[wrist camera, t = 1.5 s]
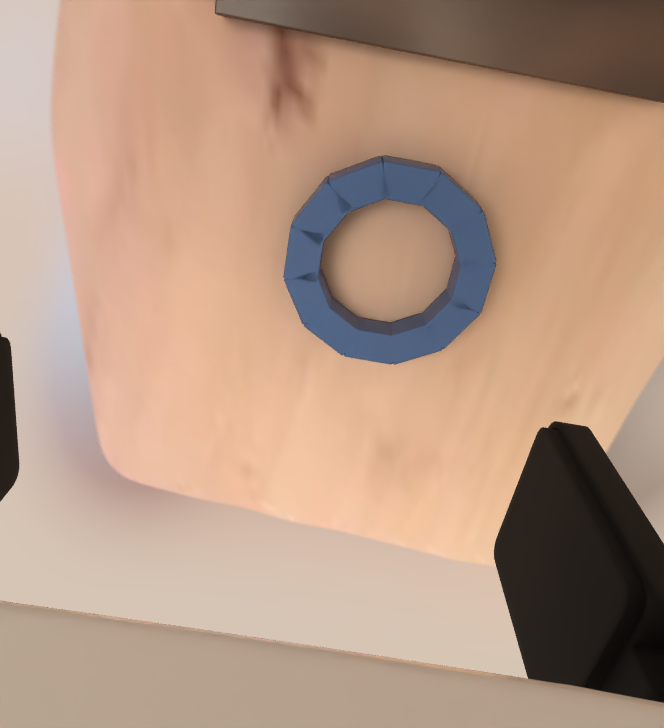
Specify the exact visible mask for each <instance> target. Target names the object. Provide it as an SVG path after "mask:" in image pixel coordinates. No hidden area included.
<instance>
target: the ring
mask: <svg viewBox="0 0 664 728" xmlns="http://www.w3.org/2000/svg"><path fill="white" fill-rule="evenodd" d="M384 199H388V200H393V201H398V202H404V203H409V204H415V205H420V206H423V207H425V208H426V209H427V210H428V211H429V212H430V213H431V214H432V215H434V216H435V217H436V218H437V219H438V220H439V221H440V222H441V223H442V224H444V225H445V226H446V227H447V228H448V230H449V233H450V237H451V240H452V244H453V247H454V251H455V255H456V257H455V260H454V264H453V268H452V271H451V275H450V278H449V282H448V286H447V289H446V290H445V291H444V292H443V293H442V294H441V295H440V296H439V297H438V298H437V299H436V300H435V301H434V302H433V303H432V304H431V305H430V306H429V307H428V308H427V309H426V310H425V311H424V312H423V313H420V314H417V315H414V316H411V317H408V318H404V319H401V320H398V321H395V322H392V323H387V322H381V321H375V320H370V319H364V318H358V317H357V316H355V315H354V314H353V313H352V312H350V311H349V310H348V309H346V308H345V307H344V306H343V305H341V304H340V303H339V302H338V301H336V300H335V299H334V298H333V297H332V296H331V294H330V291H329V289H328V286H327V283H326V281H325V278H324V276H323V273H322V271H321V268H320V262H321V256H322V250H323V244H324V240H325V239H326V238H327V237H328V236H329V235H330V233H331V232H332V231H333V230H334V229H335V228H336V226H337V225H338V224H339V223H340V222H341V220H342V219H343V218H344V217H345V216H346V215H347V213H348V212H350V211H353V210H356V209H359V208H361V207H364V206H367V205H370V204H373V203H375V202H378V201H381V200H384ZM495 262H496V258H495V254H494V250H493V246H492V242H491V238H490V234H489V230H488V226H487V222H486V218H485V214H484V212H483V210H482V208H481V207H480V206H479V204H478V203H477V202H476V201H475V200H474V199H473V198H472V197H471V196H470V195H469V194H468V193H467V192H466V191H465V190H464V189H463V188H462V187H460V186H459V185H458V184H457V183H456V182H455V181H454V180H453V179H452V178H451V177H450V176H449V175H448V174H446V173H445V172H444V171H443V170H442V169H441V168H440V167H437V166H436V165H433V164H427V163H422V162H417V161H412V160H406V159H401V158H396V157H390V156H383V157H381V156H378V157H375V158H372V159H370V160H367V161H364V162H362V163H359V164H356V165H354V166H351V167H348V168H346V169H343V170H340V171H337V172H335V173H332V174H330V177H329V176H327V177H326V178H325V180H324V181H323V182H322V183H321V185H320V186H319V187H318V188H317V189H316V191H315V192H314V193H313V194H312V196H311V197H310V198H309V199H308V201H307V202H306V203H305V204H304V205H303V207H302V208H301V209H300V210H299V212H298V213H297V214H296V215H295V218H294V220H293V222H292V225H291V228H290V235H289V242H288V249H287V256H286V263H285V270H284V278H285V279H284V281H285V284H286V286H287V288H288V291H289V293H290V295H291V298H292V300H293V303H294V305H295V307H296V310H297V312H298V314H299V317H300V319H301V321H302V323H303V324H305V325H304V326H305V327H306V328H307V329H308V330H310V331H311V332H312V333H313V334H315V335H316V336H317V337H319V338H320V339H321V340H323V341H324V342H325V343H326V344H328V345H329V346H330V347H332V348H333V349H334V350H336V351H337V352H338V353H340V354H341V355H344V356H345V357H351V358H357V359H363V360H368V361H374V362H380V363H386V364H393V363H394V364H398V363H401V362H405V361H408V360H411V359H415V358H418V357H421V356H425V355H428V354H431V353H435V352H438V351H441V350H442V349H444V348H445V347H446V346H447V345H448V344H450V343H451V342H452V341H453V340H454V339H455V338H456V337H457V336H458V335H459V334H460V333H461V332H462V331H463V330H464V329H465V328H466V327H467V326H468V325H469V324H470V323H472V322H473V321H474V320H475V319H476V318H477V317H478V316H479V315H480V314H479V313H481V312H482V308H483V305H484V302H485V299H486V296H487V293H488V289H489V286H490V283H491V280H492V277H493V273H494V270H495V267H496V263H495Z"/></svg>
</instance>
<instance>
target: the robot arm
mask: <svg viewBox="0 0 664 728" xmlns="http://www.w3.org/2000/svg"><path fill="white" fill-rule="evenodd" d="M18 472H19V454H18V440H17V426H16V412H15V399H14V384H13V371H12V356H11V346H10V342H9V340H8V339H7V338H5V337H1V334H0V501H1V500H2V499H3V497H4V496H5V495H6V494H7V493H8V491H9V490H10V489H11V488H12V486H13V485H14V483H15V481H16V479H17V476H18ZM494 559H495V563H496V567H497V570H498V574H499V577H500V581H501V584H502V588H503V592H504V595H505V598H506V602H507V606H508V609H509V613H510V616H511V620H512V623H513V627H514V630H515V634H516V638H517V641H518V645H519V648H520V651H521V655H522V659H523V662H524V666H525V669H526V673H527V676H528V679H526V678H519V677H513V676H507V675H501V674H495V673H488V672H481V671H475V670H468V669H462V668H455V667H448V666H442V665H436V664H429V663H422V662H416V661H409V660H402V659H396V658H389V657H383V656H376V655H370V654H363V653H357V652H350V651H344V650H337V649H330V648H324V647H317V646H310V645H304V644H297V643H290V642H283V641H276V640H269V639H263V638H256V637H249V636H243V635H236V634H229V633H222V632H215V631H209V630H201V629H195V628H188V627H181V626H174V625H167V624H159V623H153V622H147V621H140V620H133V619H126V618H119V617H112V616H105V615H98V614H91V613H83V612H77V611H69V610H63V609H55V608H48V607H41V606H34V605H27V604H19V603H13V602H6V601H0V728H664V544H663V542H662V541H661V539H660V538H659V536H658V534H657V533H656V531H655V530H654V528H653V527H652V525H651V523H650V522H649V520H648V519H647V517H646V516H645V514H644V513H643V511H642V510H641V508H640V506H639V505H638V503H637V502H636V500H635V498H634V497H633V495H632V494H631V492H630V491H629V489H628V488H627V486H626V485H625V483H624V481H623V480H622V478H621V477H620V475H619V474H618V472H617V470H616V469H615V467H614V466H613V464H612V463H611V461H610V460H609V458H608V456H607V455H606V453H605V452H604V450H603V449H602V447H601V446H600V444H599V442H598V441H597V439H596V438H595V436H594V435H593V433H592V431H591V430H590V429H589V428H588V427H586V426H580V425H574V424H568V423H562V422H556V421H555V422H553V423H552V424H551V425H550V426H549V427H548V428H544V427H543V428H541V429H540V430H539V431H538V433H537V435H536V438H535V440H534V443H533V446H532V448H531V451H530V453H529V456H528V458H527V461H526V464H525V466H524V469H523V471H522V474H521V477H520V479H519V482H518V484H517V487H516V489H515V492H514V495H513V497H512V500H511V502H510V505H509V508H508V510H507V513H506V515H505V518H504V520H503V523H502V526H501V528H500V531H499V533H498V536H497V539H496V542H495V547H494Z"/></svg>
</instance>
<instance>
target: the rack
mask: <svg viewBox="0 0 664 728" xmlns="http://www.w3.org/2000/svg"><path fill="white" fill-rule="evenodd" d="M215 14H216V15H220V16H225V17H230V18H235V19H240V20H245V21H250V22H255V23H260V24H265V25H271V26H276V27H281V28H286V29H291V30H296V31H301V32H306V33H311V34H316V35H321V36H326V37H332V38H337V39H342V40H347V41H352V42H357V43H362V44H367V45H372V46H377V47H382V48H387V49H393V50H398V51H403V52H408V53H413V54H418V55H423V56H428V57H433V58H438V59H443V60H448V61H454V62H459V63H464V64H469V65H474V66H479V67H484V68H489V69H494V70H499V71H504V72H509V73H514V74H520V75H525V76H530V77H535V78H540V79H545V80H550V81H555V82H560V83H565V84H570V85H575V86H581V87H586V88H591V89H596V90H601V91H606V92H611V93H616V94H621V95H626V96H631V97H636V98H642V99H647V100H652V101H657V102H662V103H664V0H216V2H215Z"/></svg>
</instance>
